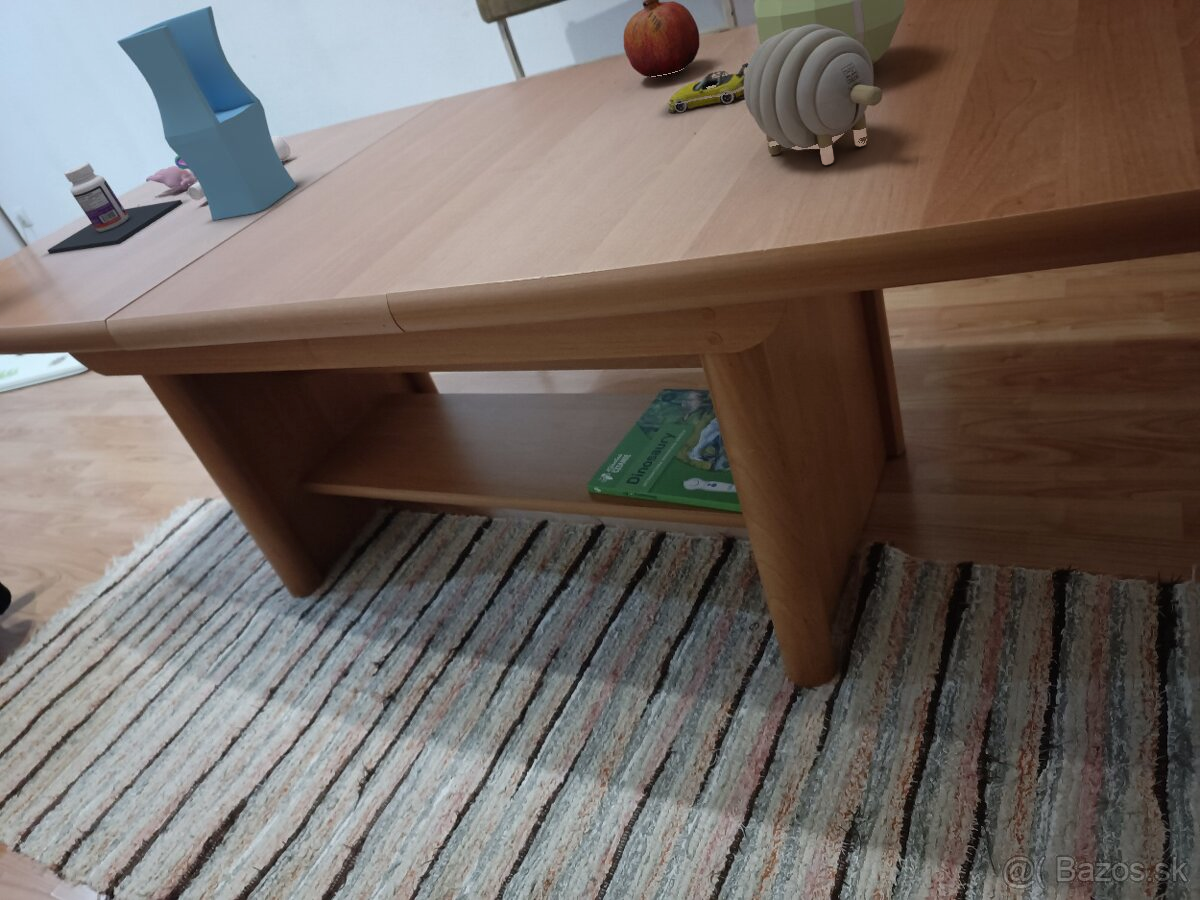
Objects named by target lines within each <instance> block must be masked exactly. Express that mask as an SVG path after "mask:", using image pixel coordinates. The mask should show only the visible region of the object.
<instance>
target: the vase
mask: <svg viewBox="0 0 1200 900" xmlns="http://www.w3.org/2000/svg"><path fill="white" fill-rule="evenodd" d="M116 43H117V44H118V46H119V47H120V48H121V49H122V50H123V51H124V53H125V54H126V55H127V56H128V57H129V59H130V60H131V61H132V63H133V64H134V65H135V67H136V68H137V69H138V71H139V72H140V74H141V75H142V77H143V78H144V80H145V82H146V83H147V85H148V87H149V88H150V89H151V93H152V94H153V96H154V97H153V98H154V100H155V102H156V105H157V108H158V111H159V115H160V119H161V123H162V124H161V125H162V129H163V135H164V139H165V141H166V143H167V144H168V146H169V148H170V149H171V150H172V151H173V152H174V153H175V154H176V156H179V157H180V158H181V159H182V160H183V162H184V163H185V164H186V165H187V166H188V168H189V169H188V170H189V171H190V170H191V171H192V173H193V174H194V176H195V177H196V179H197V180H198V182H199V183H200V185H201V187H202V189H203V191H204V194H205V200H206V202H207V204H208V208H209V211H210V215H211V219H212V221H217V220H218V221H219V220H223V219H230V218H236V217H242V216H246V215H252V214H257V213H259V212H262V211H265V210H266V209H268V208H269V207H271V206H272V205H273V204H275V203H276V202H277V201H279V200H280V199H281V198H283V197H284V196H285V195H287V194H288V193H290V192H291V191H293V190H294V189H295V188H297V185H298V184H297V183H296V181H295V180H294V178H292V176H291V175H290V173H289V172H288V170H287V168H286V167H285V166H284V164H283V162H282V160H280V158H279V156H278V154H277V152H276V150H275V147H274V145H273V142H272V139H271V136H272V135H271V133H270V129H269V125H268V124H269V123H268V120H267V117H266V116H267V115H266V111H265V107H264V106H263V104H262V102H261V100H260V99H259V98H258V97H257V95H255V94H254V93H253V92H252V90H250V89H249V88H248V86H247V85H246V84H245V83H244V82H243V81H242V80H241V79H240V77H239V76H238V75H237V73H236V72H235V70H234V69H233V67H232V66H231V64H230V63H229V60H228V59H227V56H226V54H225V52H224V50H223V46H222V44H221V41H220V37H219V34H218V29H217V25H216V20H215V16H214V12H213V7H212V6H211V5H209V6H206V7H202V8H199V9H196V10H193V11H190V12H187V13H184V14H181V15H179V16H175V17H172V18H168V19H166V20H162V21H160V22H158V23H155V24H153V25H150V26H148V27H146V28H143V29H141V30H139V31H136V32H134V33H131V34H129V35H128V36H124V37H123V38H120V39H119V40H117V41H116ZM191 171H190V172H191Z"/></svg>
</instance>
